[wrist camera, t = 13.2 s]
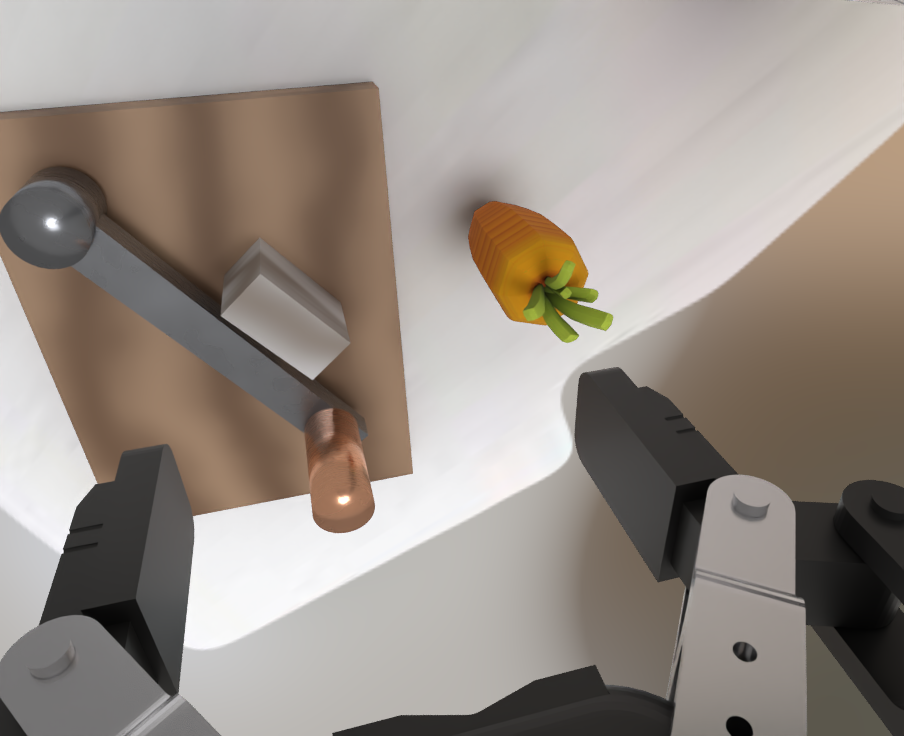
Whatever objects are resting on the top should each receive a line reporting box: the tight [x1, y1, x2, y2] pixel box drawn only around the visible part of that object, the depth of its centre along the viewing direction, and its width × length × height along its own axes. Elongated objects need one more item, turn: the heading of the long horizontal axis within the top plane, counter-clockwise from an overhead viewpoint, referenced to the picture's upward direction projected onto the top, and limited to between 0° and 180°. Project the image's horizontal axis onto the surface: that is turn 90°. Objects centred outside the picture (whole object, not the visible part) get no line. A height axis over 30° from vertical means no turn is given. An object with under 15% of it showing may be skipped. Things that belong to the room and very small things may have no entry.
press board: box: [0, 82, 413, 516], centre depth 38 cm, size 20×26×7 cm
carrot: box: [468, 201, 613, 343], centre depth 35 cm, size 5×5×15 cm
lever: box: [0, 167, 375, 533], centre depth 34 cm, size 4×22×10 cm, turn 40°
